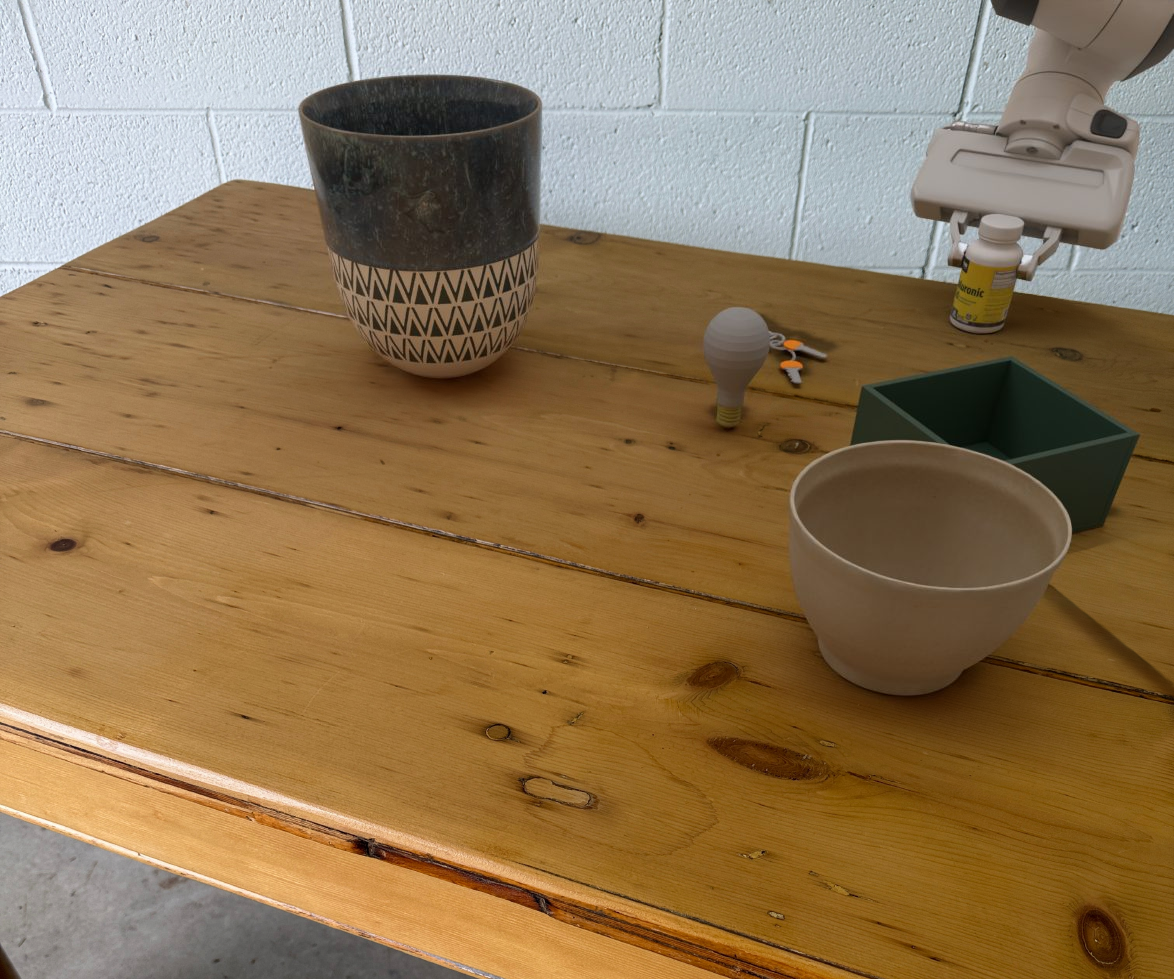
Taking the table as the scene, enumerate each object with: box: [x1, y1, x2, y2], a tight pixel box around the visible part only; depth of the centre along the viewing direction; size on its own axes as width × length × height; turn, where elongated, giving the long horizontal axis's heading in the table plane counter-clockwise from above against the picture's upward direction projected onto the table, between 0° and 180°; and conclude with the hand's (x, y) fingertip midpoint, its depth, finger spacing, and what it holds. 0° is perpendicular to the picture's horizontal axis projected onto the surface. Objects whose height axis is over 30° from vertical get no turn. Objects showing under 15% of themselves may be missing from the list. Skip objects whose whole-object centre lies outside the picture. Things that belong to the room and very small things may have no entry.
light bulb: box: [702, 306, 771, 429], centre depth 88 cm, size 6×6×10 cm
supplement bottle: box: [949, 214, 1024, 334], centre depth 104 cm, size 5×5×10 cm
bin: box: [849, 355, 1141, 535], centre depth 80 cm, size 14×14×8 cm
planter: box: [297, 73, 543, 379], centre depth 92 cm, size 20×20×21 cm
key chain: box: [769, 330, 828, 385], centre depth 101 cm, size 13×7×1 cm, turn 36°
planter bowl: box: [788, 440, 1073, 696], centre depth 65 cm, size 16×16×11 cm
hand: (989, 271), depth 103 cm, fingers closed on supplement bottle, 5 cm apart
